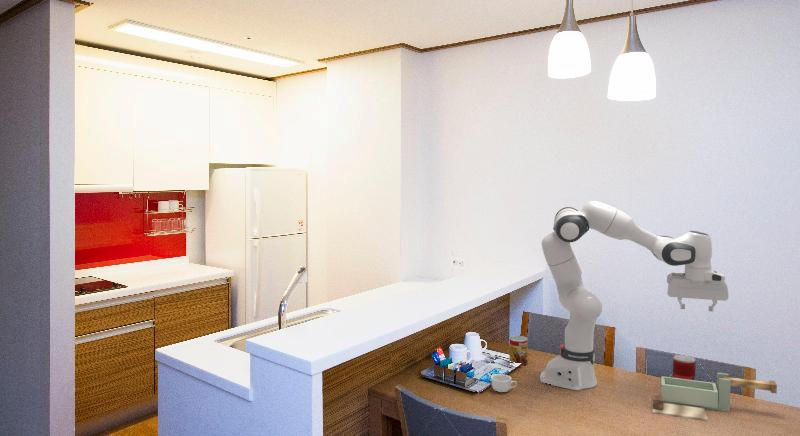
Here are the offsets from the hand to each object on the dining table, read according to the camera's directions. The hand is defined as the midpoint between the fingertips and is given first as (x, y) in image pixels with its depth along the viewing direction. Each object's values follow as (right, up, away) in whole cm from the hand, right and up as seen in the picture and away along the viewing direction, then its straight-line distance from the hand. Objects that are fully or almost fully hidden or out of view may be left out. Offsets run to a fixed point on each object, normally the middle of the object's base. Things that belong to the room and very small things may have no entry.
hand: (696, 310), depth 206 cm
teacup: (-71, -34, +10) cm, 79 cm away
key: (+12, -26, -12) cm, 31 cm away
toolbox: (-3, -34, -4) cm, 34 cm away
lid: (-13, -35, -11) cm, 39 cm away
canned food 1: (-59, -31, +38) cm, 77 cm away
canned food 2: (+2, -32, +12) cm, 35 cm away
